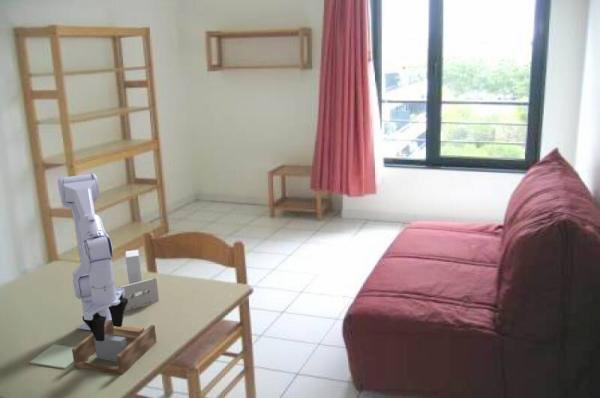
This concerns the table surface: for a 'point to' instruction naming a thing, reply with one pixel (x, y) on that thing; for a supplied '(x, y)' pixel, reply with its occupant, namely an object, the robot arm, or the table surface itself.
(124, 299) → the robot arm
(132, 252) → the skincare box
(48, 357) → the mat
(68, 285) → the table surface
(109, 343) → the grey rectangular box
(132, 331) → the offcut
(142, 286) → the cassette
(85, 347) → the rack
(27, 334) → the table surface
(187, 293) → the table surface
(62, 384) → the table surface
